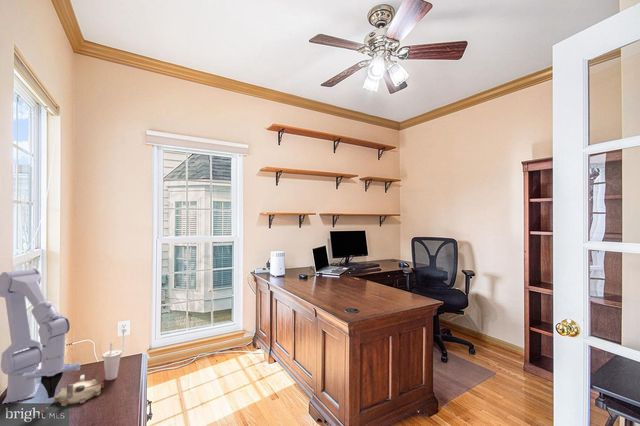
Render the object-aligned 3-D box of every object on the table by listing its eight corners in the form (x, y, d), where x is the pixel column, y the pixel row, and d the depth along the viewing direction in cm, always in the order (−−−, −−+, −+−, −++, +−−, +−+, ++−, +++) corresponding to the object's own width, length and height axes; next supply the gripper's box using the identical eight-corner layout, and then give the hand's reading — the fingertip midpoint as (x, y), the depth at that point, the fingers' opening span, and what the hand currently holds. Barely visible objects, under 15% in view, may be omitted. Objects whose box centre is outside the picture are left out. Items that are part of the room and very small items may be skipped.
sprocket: (76, 382, 115) (77, 368, 116) (112, 383, 115) (113, 369, 115) (43, 404, 102) (43, 388, 102) (83, 406, 101) (84, 389, 102)
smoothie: (100, 377, 120) (101, 341, 121) (119, 371, 125) (120, 337, 125) (102, 383, 116) (104, 347, 116) (122, 378, 120) (123, 342, 120)
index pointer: (80, 381, 117) (80, 375, 117) (84, 380, 117) (84, 374, 118) (79, 385, 114) (80, 378, 114) (83, 384, 115) (84, 378, 115)
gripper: (20, 365, 94) (18, 410, 94) (79, 355, 102) (77, 395, 102) (25, 357, 100) (24, 398, 100) (81, 347, 108) (79, 385, 108)
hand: (51, 396), depth 101 cm, fingers closed
